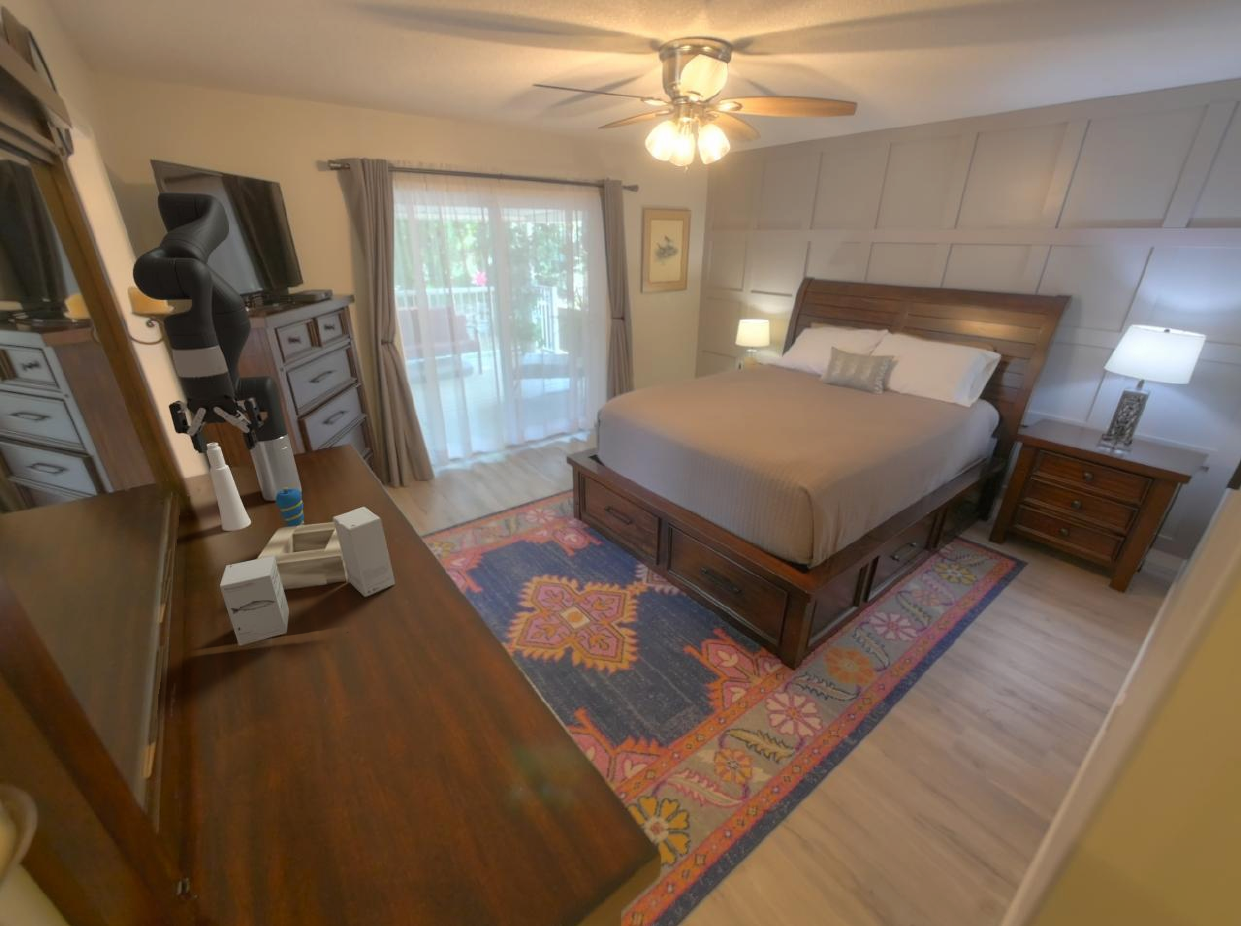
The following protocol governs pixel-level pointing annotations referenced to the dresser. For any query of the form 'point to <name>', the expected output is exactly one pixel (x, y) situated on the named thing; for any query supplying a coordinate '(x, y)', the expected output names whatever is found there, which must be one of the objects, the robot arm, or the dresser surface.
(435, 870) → the dresser surface
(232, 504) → the cosmetic bottle
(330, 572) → the socket block
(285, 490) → the ornament
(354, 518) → the skincare box
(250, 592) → the supplement box
